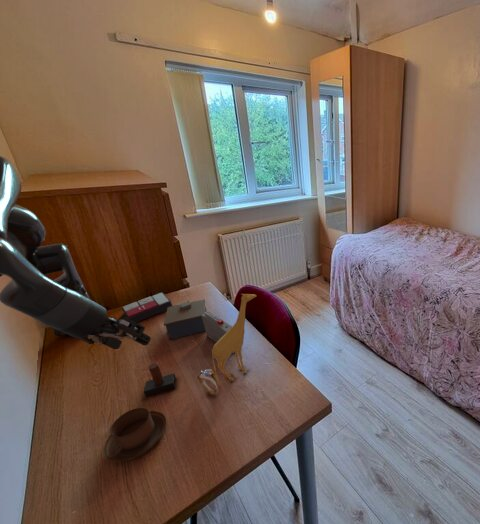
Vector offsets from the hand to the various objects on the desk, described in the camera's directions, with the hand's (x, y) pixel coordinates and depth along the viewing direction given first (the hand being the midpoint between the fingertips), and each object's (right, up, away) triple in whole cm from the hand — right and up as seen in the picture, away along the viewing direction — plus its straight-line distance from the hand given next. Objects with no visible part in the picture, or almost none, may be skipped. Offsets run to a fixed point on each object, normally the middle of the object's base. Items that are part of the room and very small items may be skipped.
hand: (133, 343), depth 71 cm
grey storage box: (-6, -4, +36) cm, 37 cm away
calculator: (-29, 0, +46) cm, 54 cm away
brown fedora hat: (+4, -22, -4) cm, 23 cm away
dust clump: (-8, +4, +36) cm, 37 cm away
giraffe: (+22, -13, +16) cm, 30 cm away
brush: (0, -16, +10) cm, 19 cm away
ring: (+16, -16, +8) cm, 24 cm away
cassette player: (+10, -8, +28) cm, 30 cm away
